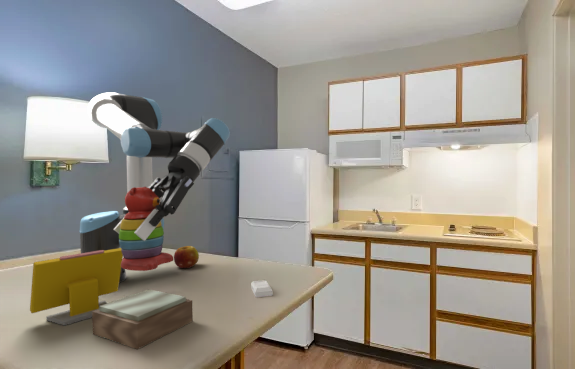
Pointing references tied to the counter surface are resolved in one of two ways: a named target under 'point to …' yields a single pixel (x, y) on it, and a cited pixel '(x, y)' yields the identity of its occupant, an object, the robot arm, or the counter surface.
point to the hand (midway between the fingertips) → (128, 234)
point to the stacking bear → (132, 246)
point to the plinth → (142, 317)
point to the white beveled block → (261, 288)
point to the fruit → (186, 257)
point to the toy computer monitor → (75, 283)
